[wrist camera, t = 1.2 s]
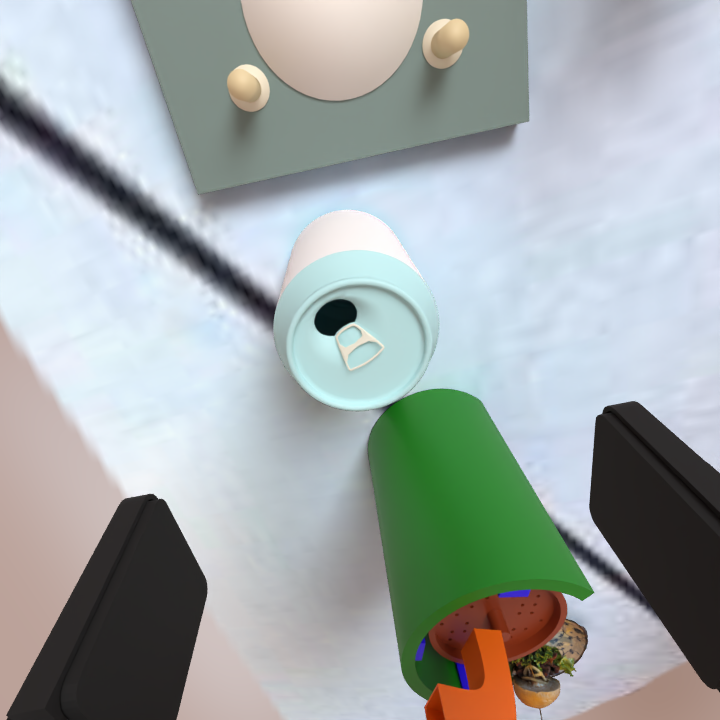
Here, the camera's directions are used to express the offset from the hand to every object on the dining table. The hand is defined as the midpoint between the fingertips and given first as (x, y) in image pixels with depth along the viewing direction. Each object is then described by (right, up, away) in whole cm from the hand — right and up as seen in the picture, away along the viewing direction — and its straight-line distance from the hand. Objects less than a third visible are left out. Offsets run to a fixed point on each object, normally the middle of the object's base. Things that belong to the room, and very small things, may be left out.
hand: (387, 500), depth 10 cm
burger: (+17, -26, +38) cm, 49 cm away
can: (-1, +9, +19) cm, 21 cm away
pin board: (-2, +21, +12) cm, 24 cm away
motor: (+4, -3, +25) cm, 26 cm away
